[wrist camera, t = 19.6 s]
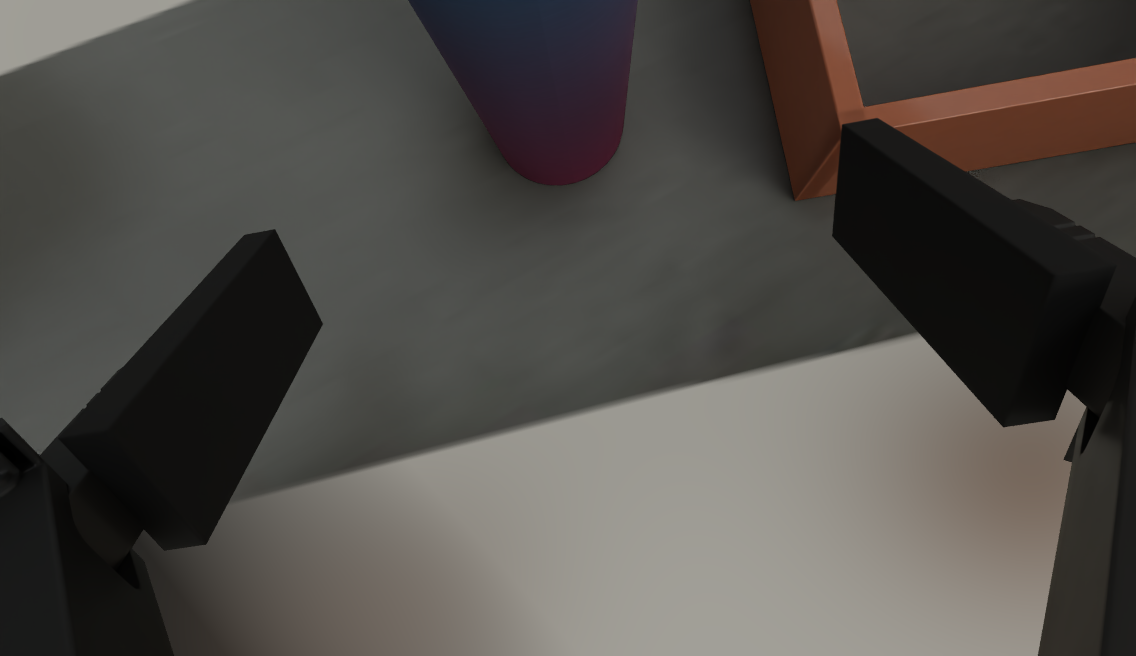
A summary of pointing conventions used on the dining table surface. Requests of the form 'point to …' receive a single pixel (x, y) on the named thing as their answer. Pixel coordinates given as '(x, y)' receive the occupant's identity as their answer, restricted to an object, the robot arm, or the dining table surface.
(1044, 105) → the rectangular frame
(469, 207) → the dining table surface
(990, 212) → the robot arm
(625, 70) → the cup
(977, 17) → the dining table surface
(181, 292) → the dining table surface
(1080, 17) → the dining table surface
